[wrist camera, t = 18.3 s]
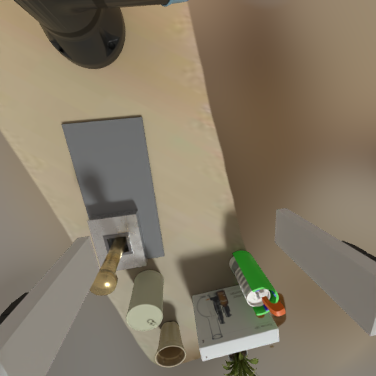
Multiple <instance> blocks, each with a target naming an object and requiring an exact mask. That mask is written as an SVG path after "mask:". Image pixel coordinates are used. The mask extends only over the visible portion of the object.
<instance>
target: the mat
mask: <svg viewBox="0 0 376 376" xmlns="http://www.w3.org/2000/svg"><path fill="white" fill-rule="evenodd" d="M62 128H63V131H64V135H65V138H66V141H67V145H68V148H69V152H70V155H71V159H72V162H73V166H74V169H75V172H76V176H77V179H78V183H79V186H80V190H81V193H82V196H83V200H84V203H85V207H86V210H87V214H88V217H89V218H90V217H91V216H93V215H101V214H109V213H116V212H124V211H131V210H138V213H139V218H140V223H141V228H142V233H143V238H144V243H145V248H146V253H147V258H148V259H149V258H156V257H162V256H164V250H163V244H162V237H161V231H160V225H159V219H158V213H157V207H156V200H155V194H154V188H153V182H152V176H151V170H150V163H149V157H148V151H147V145H146V139H145V133H144V126H143V120H142V117H137V118H126V119H115V120H104V121H94V122H83V123H72V124H62ZM112 239H113V242H114V240H115V238H112ZM126 245H128V244H127V242H126Z"/></svg>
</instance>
